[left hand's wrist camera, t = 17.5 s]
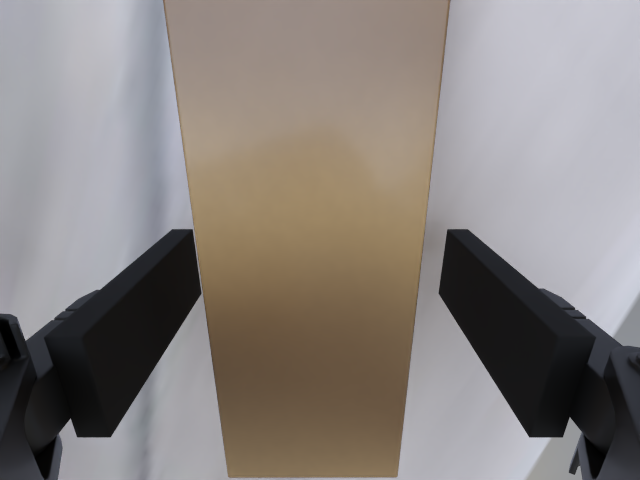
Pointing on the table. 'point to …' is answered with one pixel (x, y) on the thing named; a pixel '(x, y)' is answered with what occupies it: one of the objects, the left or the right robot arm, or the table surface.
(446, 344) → the table surface
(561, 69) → the table surface
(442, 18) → the bar
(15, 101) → the table surface
